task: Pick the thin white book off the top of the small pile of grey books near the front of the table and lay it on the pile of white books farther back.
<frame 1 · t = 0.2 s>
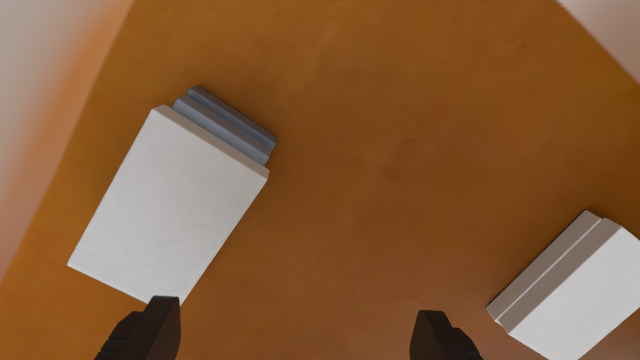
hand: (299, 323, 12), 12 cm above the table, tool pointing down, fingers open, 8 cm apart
grey books: (190, 189, 23), on the table
white book: (173, 211, 20), point 3 cm above the table, touching grey books
white books: (560, 280, 27), on the table
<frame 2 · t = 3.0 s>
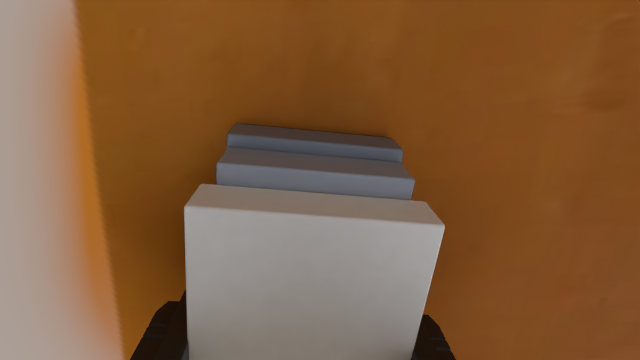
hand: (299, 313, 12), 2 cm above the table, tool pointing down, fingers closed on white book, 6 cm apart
grey books: (300, 275, 14), on the table
white book: (300, 335, 11), point 3 cm above the table, touching grey books, gripper
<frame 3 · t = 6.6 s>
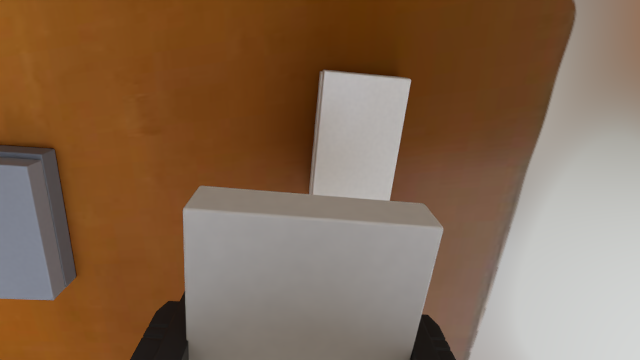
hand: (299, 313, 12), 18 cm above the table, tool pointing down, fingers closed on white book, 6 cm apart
grey books: (31, 215, 30), on the table
white book: (299, 336, 11), point 19 cm above the table, touching gripper
white books: (351, 137, 29), on the table
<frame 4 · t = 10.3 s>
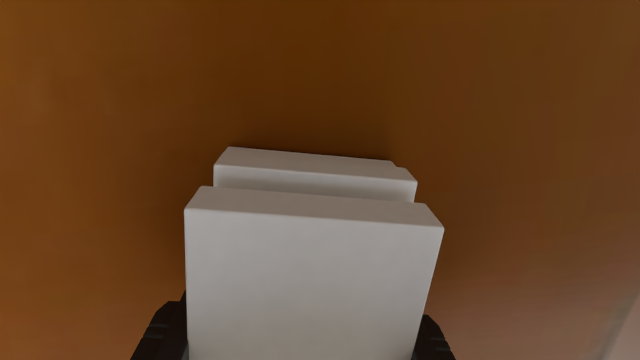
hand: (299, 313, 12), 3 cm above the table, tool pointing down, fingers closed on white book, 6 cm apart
white book: (300, 336, 11), point 4 cm above the table, touching gripper
white books: (299, 266, 15), on the table
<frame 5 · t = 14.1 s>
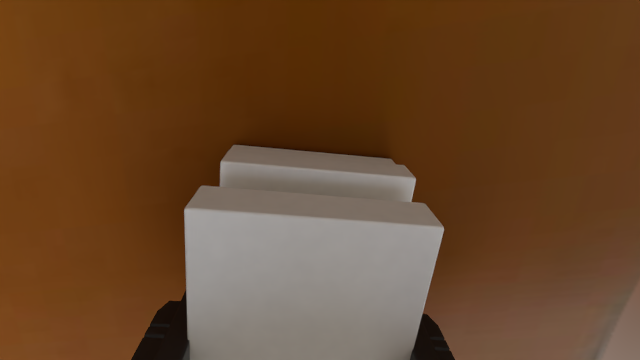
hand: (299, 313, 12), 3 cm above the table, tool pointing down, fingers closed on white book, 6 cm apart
white book: (299, 336, 11), point 4 cm above the table, touching gripper
white books: (302, 261, 15), on the table
when the fingers open (4 cm above the table, at t = 17.7 s): white book drops 2 cm, resting on white books.
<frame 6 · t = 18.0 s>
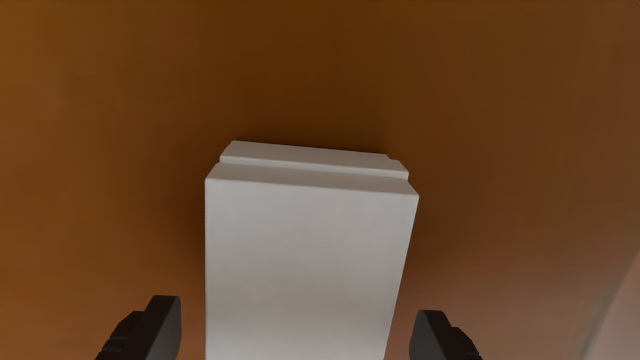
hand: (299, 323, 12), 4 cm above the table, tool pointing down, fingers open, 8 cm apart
white book: (299, 296, 13), point 3 cm above the table, touching white books
white books: (299, 255, 16), on the table
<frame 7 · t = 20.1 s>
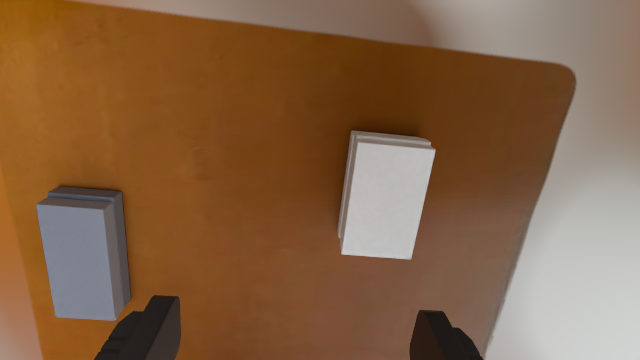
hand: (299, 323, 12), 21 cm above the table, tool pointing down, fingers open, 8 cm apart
grey books: (97, 245, 34), on the table
white book: (382, 197, 31), point 3 cm above the table, touching white books
white books: (376, 185, 33), on the table
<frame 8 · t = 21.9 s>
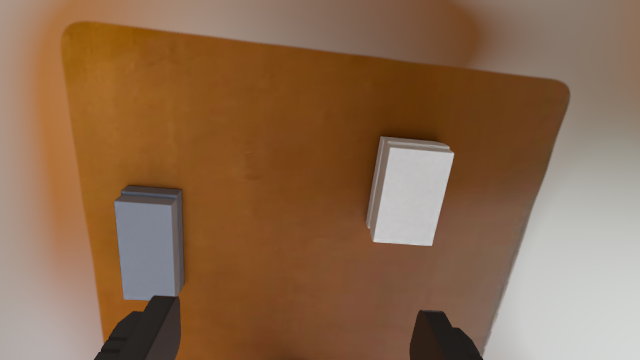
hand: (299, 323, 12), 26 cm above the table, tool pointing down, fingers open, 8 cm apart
grey books: (157, 237, 39), on the table
white book: (407, 193, 36), point 3 cm above the table, touching white books
white books: (400, 183, 39), on the table
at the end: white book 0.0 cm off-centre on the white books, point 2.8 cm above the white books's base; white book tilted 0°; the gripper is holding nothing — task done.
